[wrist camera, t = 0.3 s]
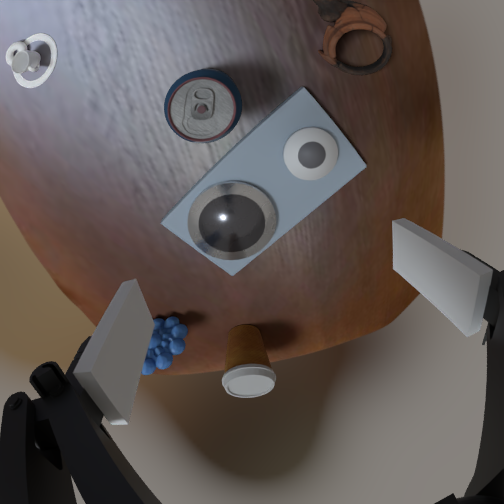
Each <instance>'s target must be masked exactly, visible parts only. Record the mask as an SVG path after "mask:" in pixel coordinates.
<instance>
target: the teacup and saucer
mask: <svg viewBox="0 0 504 504" xmlns="http://www.w3.org/2000/svg"><path fill="white" fill-rule="evenodd" d="M36 40H42V41H44V42H46V43H47V44H48V45H49V47H50V50H51V61H50V65H49V67H48V69H47V71H46V72H45V73H44V75H43V76H42V77H40V78H39V79H37V80H34V81H28V80H25V79H24V78H23V77H22V76H21V74H20V73H24V72H27V71H31V72H37V71H38V70H39V68H40V60H41V57H40V54H39V53H38V52H36V51H29V50H27V45H28V44H30V43H31V42H33V41H36ZM15 50H17V52H16V55H15V56H13V54H14V51H15ZM56 60H57V47H56V44H55V42H54V40H53V39H52V38H51V37H50V36H49V35H47V34H43V33H38V34H34V35H32V36H30V37H29V38H27V39H26V40H25V41H24V42H21V41H18V42H15V43H13V44H12V45H11V46H10V47H9V49H8V50H7V53H6V61H7V63H8V64H9V65H10V66H12V70H13V72H14V76H15V79H16V80H17V82H18V83H19V84H20V85H21V86H23V87H26V88H34V87H37V86H39V85H41V84H42V83H44V82H45V81H46V80H47V79H48V78H49V76H50V75H51V73H52V71H53V69H54V67H55V64H56ZM36 66H37V67H38V68H35V67H36Z"/></svg>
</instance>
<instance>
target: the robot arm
mask: <svg viewBox="0 0 504 504" xmlns="http://www.w3.org/2000/svg"><path fill="white" fill-rule="evenodd" d="M392 228H393V269H394V270H395V271H396V272H398V273H399V274H400V275H401V276H402V277H403V278H404V279H406V280H407V281H408V282H409V283H410V284H411V285H412V286H413V287H415V288H416V289H417V290H418V291H419V292H420V293H421V294H423V296H425V297H426V298H427V299H428V300H429V301H430V302H431V303H432V304H433V305H434V306H436V308H438V309H439V310H440V311H441V312H442V313H443V314H444V315H445V316H446V317H447V318H448V319H449V320H450V321H451V322H452V323H453V324H454V325H455V326H456V327H457V328H458V329H460V330H461V332H462V333H464V334H465V335H466V336H467V337H469V336H471V335H473V334H474V333H476V332H478V331H480V328H481V324H482V321H483V318H484V319H485V320H487V321H488V326H487V329H486V333H485V336H484V339H483V343H482V345H484V344H485V341H487V385H486V402H485V412H484V413H485V414H484V421H483V430H482V437H481V443H480V449H479V455H478V460H477V465H476V469H475V473H474V476H473V478H472V480H471V482H470V484H469V486H468V488H467V490H466V492H465V495H464V497H461V498H457V499H456V497H455V495H454V494H451V495H449V496H447V497H446V498H444V499H442V500H440V501H438V502H437V503H435V504H504V270H503V271H501V272H499V271H498V270H496V269H495V268H493V267H492V266H490V265H488V264H487V263H485V262H484V261H481V260H480V259H479V258H477V257H475V256H474V255H472V254H471V253H469V252H467V251H464V250H461V249H459V248H457V247H455V246H453V245H452V244H450V243H448V242H447V241H445V240H443V239H441V238H440V237H438V236H436V235H434V234H433V233H431V232H429V231H427V230H425V229H423V228H422V227H420V226H418V225H416V224H414V223H412V222H410V221H409V220H407V219H405V218H402V219H398V220H394V221H392ZM154 326H155V324H154V321H153V319H152V317H151V314H150V312H149V309H148V307H147V305H146V302H145V300H144V297H143V295H142V292H141V290H140V287H139V285H138V282H137V280H136V279H134V280H130V281H125V282H123V283H122V284H121V286H120V288H119V289H118V291H117V293H116V294H115V296H114V298H113V299H112V301H111V303H110V305H109V306H108V308H107V310H106V312H105V313H104V315H103V317H102V319H101V320H100V322H99V324H98V326H97V328H96V330H95V331H94V333H93V335H92V336H89V337H88V338H87V339H86V340H85V341H84V342H83V343H82V344H81V346H80V348H79V350H78V351H77V354H76V355H75V357H74V360H73V361H72V363H71V364H70V367H69V368H68V370H67V372H66V374H64V373H63V371H62V370H61V368H60V367H59V365H58V364H57V363H56V362H52V361H51V362H46V363H43V364H41V365H40V366H38V367H37V368H36V369H35V370H34V371H33V372H32V374H31V376H30V383H31V385H32V386H33V387H34V389H35V390H36V391H37V393H38V394H39V395H40V396H41V398H38V399H35V400H31V399H30V398H29V397H28V396H27V394H25V392H17V393H15V394H12V395H11V397H9V398H8V400H7V401H6V403H5V405H4V409H3V416H2V424H1V433H0V504H77V503H76V498H75V494H74V489H73V484H72V480H71V476H72V478H73V480H74V482H75V484H76V486H77V488H78V490H79V492H80V494H81V496H82V498H83V500H84V501H85V503H86V504H162V503H161V502H160V501H159V500H158V499H157V498H156V496H155V495H154V494H153V493H152V492H151V490H150V489H149V488H148V487H147V485H146V484H145V483H144V482H143V480H142V479H141V478H140V477H139V475H138V474H137V473H136V472H135V470H134V469H133V467H132V466H131V465H130V463H129V462H128V461H127V459H126V458H125V457H124V455H123V454H122V452H121V451H120V449H119V448H118V447H117V445H116V444H115V442H114V441H113V439H112V438H111V436H110V434H109V433H108V432H107V430H106V428H105V427H104V426H103V425H102V423H101V422H102V418H103V415H104V416H105V418H106V419H107V420H108V421H109V423H110V424H111V425H122V424H129V419H130V415H131V411H132V407H133V402H134V399H135V395H136V391H137V387H138V383H139V379H140V375H141V372H142V368H143V364H144V361H145V357H146V354H147V350H148V347H149V343H150V340H151V336H152V333H153V330H154Z"/></svg>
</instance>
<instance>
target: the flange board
mask: <svg viewBox="0 0 504 504" xmlns="http://www.w3.org/2000/svg"><path fill="white" fill-rule="evenodd" d="M366 167H367V166H366V164H365V163H364V162H363V160H362V159H361V157H360V156H359V155H358V153H357V152H356V151H355V149H354V148H353V147H352V145H351V144H350V143H349V141H348V140H347V139H346V137H345V136H344V135H343V133H342V132H341V131H340V130H339V128H338V127H337V126H336V125H335V123H334V122H333V121H332V120H331V118H330V117H329V116H328V115H327V113H326V112H325V111H324V110H323V109H322V107H321V106H320V105H319V104H318V103H317V102H316V100H315V99H314V98H313V97H312V96H311V95H310V93H309V92H308V91H307V90H306V89H305V88H304V87H301V88H299V89H298V90H297V91H296V92H295V93H293V94H292V95H291V96H290V97H289V98H287V99H286V100H285V101H284V102H283V103H282V104H280V105H279V106H278V107H277V108H276V109H275V110H273V111H272V112H271V113H270V114H269V115H268V116H267V117H265V118H264V119H263V120H262V121H261V122H260V123H259V124H258V125H256V126H255V127H254V128H253V129H252V130H251V131H250V132H249V133H248V134H247V135H246V136H244V137H243V138H242V139H241V140H240V141H239V142H238V143H237V144H236V145H235V146H234V147H233V148H232V149H231V150H230V151H228V152H227V153H226V154H225V155H224V156H223V157H222V158H221V159H220V160H219V161H218V162H217V163H216V164H215V165H214V166H213V167H212V168H211V169H210V170H209V171H208V172H207V173H206V174H205V175H204V176H203V177H202V178H201V179H200V180H199V181H198V182H197V183H196V184H195V185H194V186H193V187H192V188H191V189H190V190H189V191H188V192H187V193H186V194H185V195H184V196H183V197H182V198H181V199H180V201H179V202H178V203H177V204H176V205H175V206H174V207H173V208H172V209H171V210H170V211H169V212H168V213H167V214H166V215H165V217H164V218H163V219H162V221H161V224H162V225H163V226H165V227H166V228H167V229H169V230H170V231H171V232H173V233H174V234H175V235H177V236H178V237H179V238H181V239H182V240H184V241H185V242H186V243H188V244H189V245H190V246H192V247H193V248H194V249H196V250H197V251H198V252H200V253H201V254H203V255H204V256H205V257H207V258H208V259H209V260H211V261H212V262H214V263H215V264H216V265H218V266H219V267H220V268H222V269H223V270H225V271H226V272H227V273H229V274H230V275H232V276H233V275H234V274H236V273H237V272H238V271H239V270H241V269H242V268H243V267H244V266H246V265H247V264H248V263H249V262H250V261H252V260H253V259H254V258H255V257H257V256H258V255H259V254H260V253H262V252H263V251H264V250H265V249H267V248H268V247H269V246H270V245H271V244H273V243H274V242H275V241H276V240H278V239H279V238H280V237H281V236H282V235H284V234H285V233H286V232H287V231H289V230H290V229H291V228H292V227H294V226H295V225H296V224H297V223H298V222H300V221H301V220H302V219H303V218H305V217H306V216H307V215H308V214H309V213H311V212H312V211H313V210H314V209H316V208H317V207H318V206H319V205H320V204H322V203H323V202H324V201H325V200H327V199H328V198H329V197H330V196H331V195H333V194H334V193H335V192H336V191H338V190H339V189H340V188H341V187H342V186H344V185H345V184H346V183H347V182H348V181H350V180H351V179H352V178H353V177H355V176H356V175H357V174H358V173H359V172H361V171H362V170H363V169H364V168H366ZM230 180H234V181H243V182H246V183H250V184H252V185H254V186H256V187H258V188H259V189H260V190H262V191H263V192H264V193H265V194H266V195H267V196H268V198H269V199H270V201H271V203H272V205H273V207H274V211H275V214H276V228H275V231H274V234H273V236H272V238H271V240H270V241H269V243H268V244H267V245H266V246H265V247H264V248H263V249H262V250H260V251H259V252H258V253H256V254H254V255H252V256H250V257H247V258H244V259H239V260H223V259H218V258H215V257H212V256H210V255H208V254H206V253H204V252H203V251H202V250H200V249H199V248H198V247H197V246H196V245H195V243H194V242H193V240H192V239H191V237H190V234H189V231H188V224H187V221H188V214H189V210H190V207H191V205H192V202H193V201H194V199H195V198H196V197H197V196H198V194H199V193H201V192H202V191H203V190H204V189H206V188H207V187H209V186H211V185H213V184H215V183H218V182H223V181H230Z"/></svg>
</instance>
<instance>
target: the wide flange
mask: <svg viewBox="0 0 504 504" xmlns="http://www.w3.org/2000/svg"><path fill="white" fill-rule="evenodd" d="M187 224H188V231H189V234H190V237H191V239H192V240H193V242H194V243H195V245H196V246H197V247H198V248H199V249H200V250H202V251H203V252H204V253H206V254H208V255H210V256H212V257H215V258H218V259H223V260H239V259H244V258H247V257H250V256H252V255H254V254H256V253H258V252H259V251H260V250H262V249H263V248H264V247H265V246H266V245H267V244H268V243H269V241H270V240H271V238H272V236H273V234H274V231H275V228H276V214H275V211H274V207H273V205H272V203H271V201H270V199H269V198H268V196H267V195H266V194H265V193H264V192H263V191H262V190H260V189H259V188H258V187H256V186H254V185H252V184H250V183H246V182H243V181H234V180H230V181H223V182H218V183H215V184H213V185H211V186H209V187H207V188H206V189H204V190H203V191H202V192H201V193H199V194H198V196H197V197H196V198H195V199H194V201H193V202H192V205H191V207H190V210H189V214H188V221H187Z"/></svg>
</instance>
